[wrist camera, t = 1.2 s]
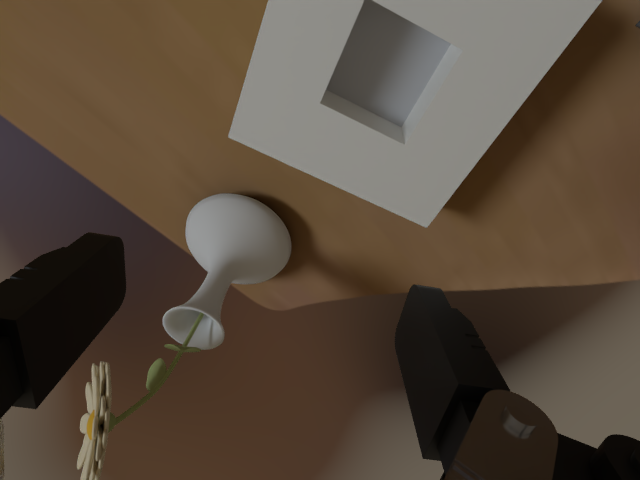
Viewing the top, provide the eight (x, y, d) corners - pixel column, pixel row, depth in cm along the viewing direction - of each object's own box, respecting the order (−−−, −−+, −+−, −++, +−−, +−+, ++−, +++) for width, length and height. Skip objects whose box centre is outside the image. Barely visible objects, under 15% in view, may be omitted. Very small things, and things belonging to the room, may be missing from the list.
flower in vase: (243, 164, 36) (73, 411, 15) (315, 245, 40) (256, 515, 20) (162, 226, 41) (-41, 466, 21) (233, 290, 46) (123, 537, 26)
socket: (329, -149, 23) (320, -176, 18) (566, -5, 25) (603, -2, 21) (245, 117, 33) (228, 137, 29) (420, 199, 35) (426, 227, 31)
